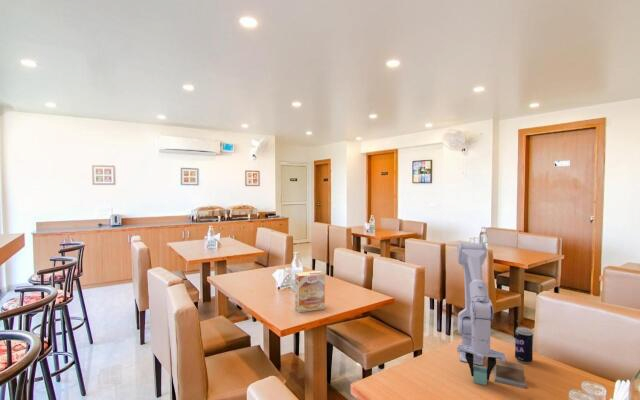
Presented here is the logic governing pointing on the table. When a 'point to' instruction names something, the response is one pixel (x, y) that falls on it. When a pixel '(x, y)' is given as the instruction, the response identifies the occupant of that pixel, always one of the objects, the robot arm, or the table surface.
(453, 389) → the table surface
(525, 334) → the beverage can
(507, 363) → the walnut brick
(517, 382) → the plate
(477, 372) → the cube
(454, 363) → the table surface
